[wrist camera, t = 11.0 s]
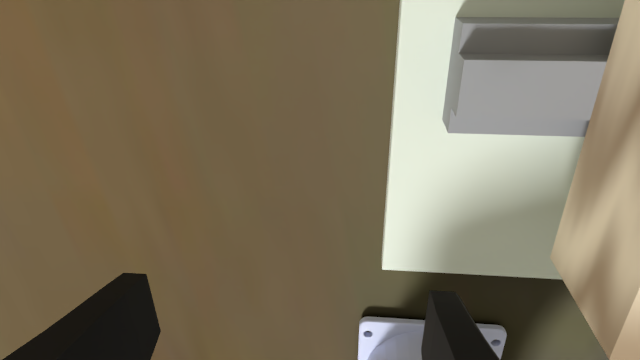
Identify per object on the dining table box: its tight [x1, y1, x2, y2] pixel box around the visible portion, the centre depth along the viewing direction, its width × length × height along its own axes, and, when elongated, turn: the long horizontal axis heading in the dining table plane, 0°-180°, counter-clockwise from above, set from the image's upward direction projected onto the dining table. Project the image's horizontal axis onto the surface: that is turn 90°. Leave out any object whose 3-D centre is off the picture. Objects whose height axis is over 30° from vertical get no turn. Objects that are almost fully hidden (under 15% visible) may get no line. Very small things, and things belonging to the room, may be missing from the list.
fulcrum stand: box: [382, 0, 625, 279], centre depth 16 cm, size 20×16×4 cm
